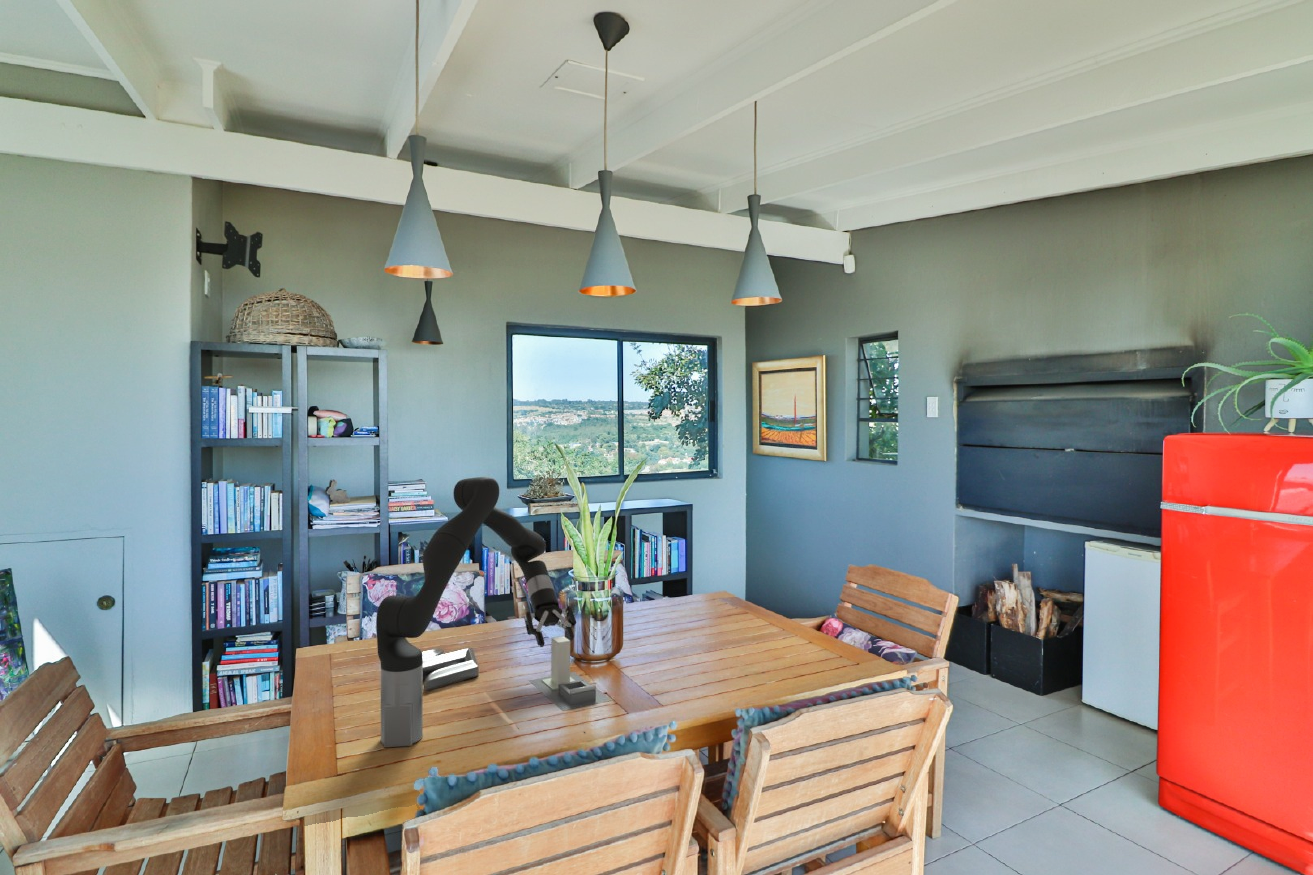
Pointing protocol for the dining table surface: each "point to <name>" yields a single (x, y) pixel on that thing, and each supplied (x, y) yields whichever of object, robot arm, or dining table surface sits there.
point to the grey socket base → (570, 692)
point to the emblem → (448, 667)
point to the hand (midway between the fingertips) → (557, 643)
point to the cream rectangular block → (560, 660)
